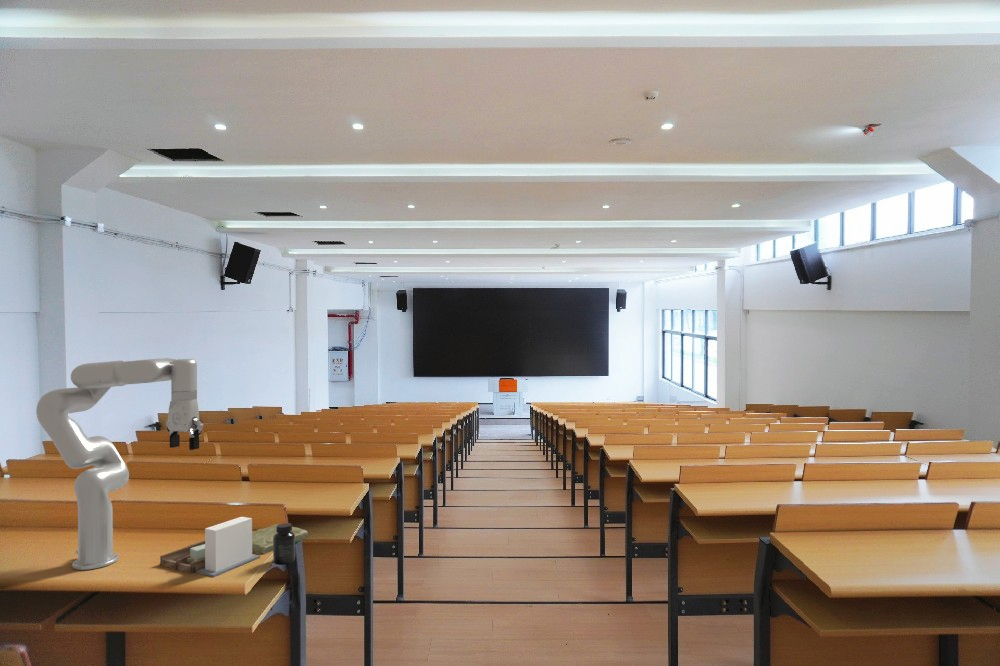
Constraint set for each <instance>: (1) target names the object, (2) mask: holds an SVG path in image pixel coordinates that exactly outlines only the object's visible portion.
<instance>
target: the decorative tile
mask: <svg viewBox="0 0 1000 666" xmlns="http://www.w3.org/2000/svg"><path fill="white" fill-rule="evenodd" d="M279 524H280V523H278V524H276V523H274V524H272V525H270V526H267V527H265V528H259V529H256V530H252V552H253V551H254V552H253V553H257V554H261V553H263V555H266V554H268V553H270V552H273V537H274V535H275V534H276V533H277V532H276V527H277V525H279ZM292 532H293V533H294V534H295V543H297V542H298V541H301V540H304V539H306V538H309V537H308V536H309V532H308V530H305V529H302V528H300V527H295V526H292Z"/></svg>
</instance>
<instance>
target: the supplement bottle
mask: <svg viewBox="0 0 1000 666" xmlns="http://www.w3.org/2000/svg"><path fill="white" fill-rule="evenodd" d="M278 524H279V525H277V527H276V532H277V533H276V534H275V535H274V537H273V551H272V552H273V556H272V559H273V563H274V564H275V565H278V566H286V565H289V564H292V563H293V562H295V560H296V542H295V534H294V533H293V532H292V527H293V524H292V523H290V522H289V523H288V522H287V523H286V522H285V523H284V522H283V523H278Z"/></svg>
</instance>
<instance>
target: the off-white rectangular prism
mask: <svg viewBox="0 0 1000 666" xmlns="http://www.w3.org/2000/svg"><path fill="white" fill-rule="evenodd" d="M252 531H253V518H252V517H247V516H240V517H235V518H234V519H229V520H227V521H224V522H220V523H218V524H215V525H212V526H208V527H206V528H204V541H205V569H206V570H210V571H214V572H217V571H219V570H222V569H224V568H227V567H229V566H231V565H234V564H236V563H239V562H241V561H244V560H246V559H248V558H251V557H252V554H253V551H252Z"/></svg>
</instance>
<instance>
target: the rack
mask: <svg viewBox="0 0 1000 666" xmlns="http://www.w3.org/2000/svg"><path fill="white" fill-rule="evenodd" d="M203 544H205V540H203V541H199V542H196V543H193V544H191V545H188V546H185V547H183V548H179V549H177V550H174V551H171V552H168V553H165V554H162V555H160V556H159V558H160V559H159V560H160V561H159V562H160V563H159V564H160V566H162V567H166V568H170V569H173V570H177V571H182V572H186V573H189V574H195V573H197V570H200V569H202V568H205V558H204V559H201V560H199V561H196V562H193V563H191V565H189V564H187V558H190V548H193V547H196V546H200V545H203Z"/></svg>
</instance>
